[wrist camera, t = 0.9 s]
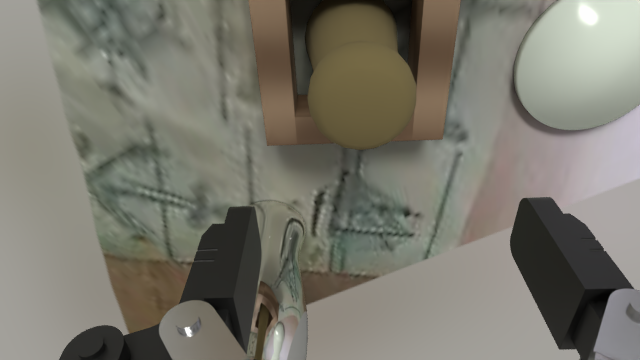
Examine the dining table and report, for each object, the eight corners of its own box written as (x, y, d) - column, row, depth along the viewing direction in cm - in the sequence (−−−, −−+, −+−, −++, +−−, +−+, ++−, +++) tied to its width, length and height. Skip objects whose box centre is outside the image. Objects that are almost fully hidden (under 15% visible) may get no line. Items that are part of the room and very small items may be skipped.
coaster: (532, -19, 27) (537, -17, 26) (700, -27, 27) (710, -24, 26) (501, 127, 33) (504, 132, 32) (639, 122, 32) (646, 127, 32)
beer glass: (309, 258, 40) (303, 428, 28) (232, 255, 40) (192, 424, 28) (313, 197, 36) (308, 364, 24) (227, 193, 36) (179, 359, 24)
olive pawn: (405, 68, 30) (441, 151, 21) (320, 92, 31) (319, 181, 22) (386, -25, 27) (419, 27, 18) (292, 6, 28) (277, 69, 19)
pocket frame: (251, -58, 26) (242, -49, 23) (451, -68, 25) (468, -60, 23) (271, 121, 32) (267, 145, 29) (431, 115, 32) (442, 139, 29)
